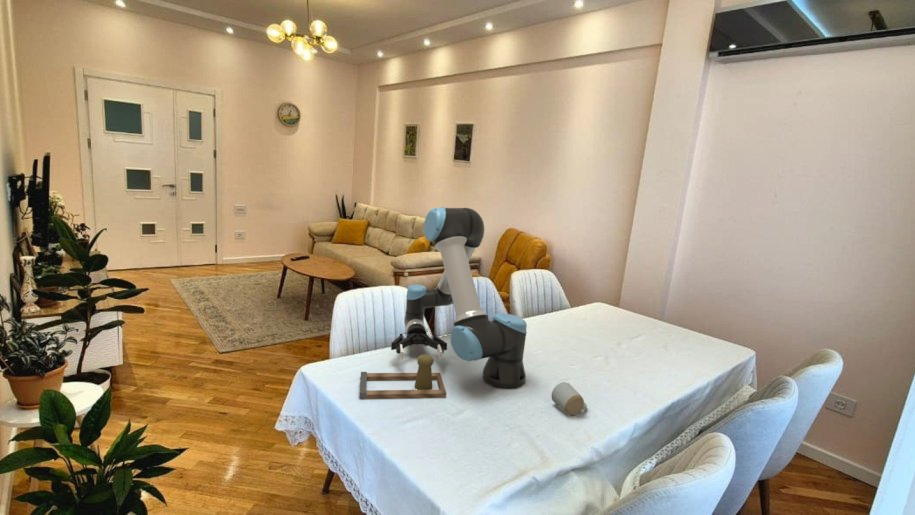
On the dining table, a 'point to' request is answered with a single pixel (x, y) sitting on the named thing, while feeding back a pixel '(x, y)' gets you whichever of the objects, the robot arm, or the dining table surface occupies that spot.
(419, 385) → the cork
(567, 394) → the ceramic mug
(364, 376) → the end stop
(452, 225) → the robot arm
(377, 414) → the dining table surface
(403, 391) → the walnut channel
